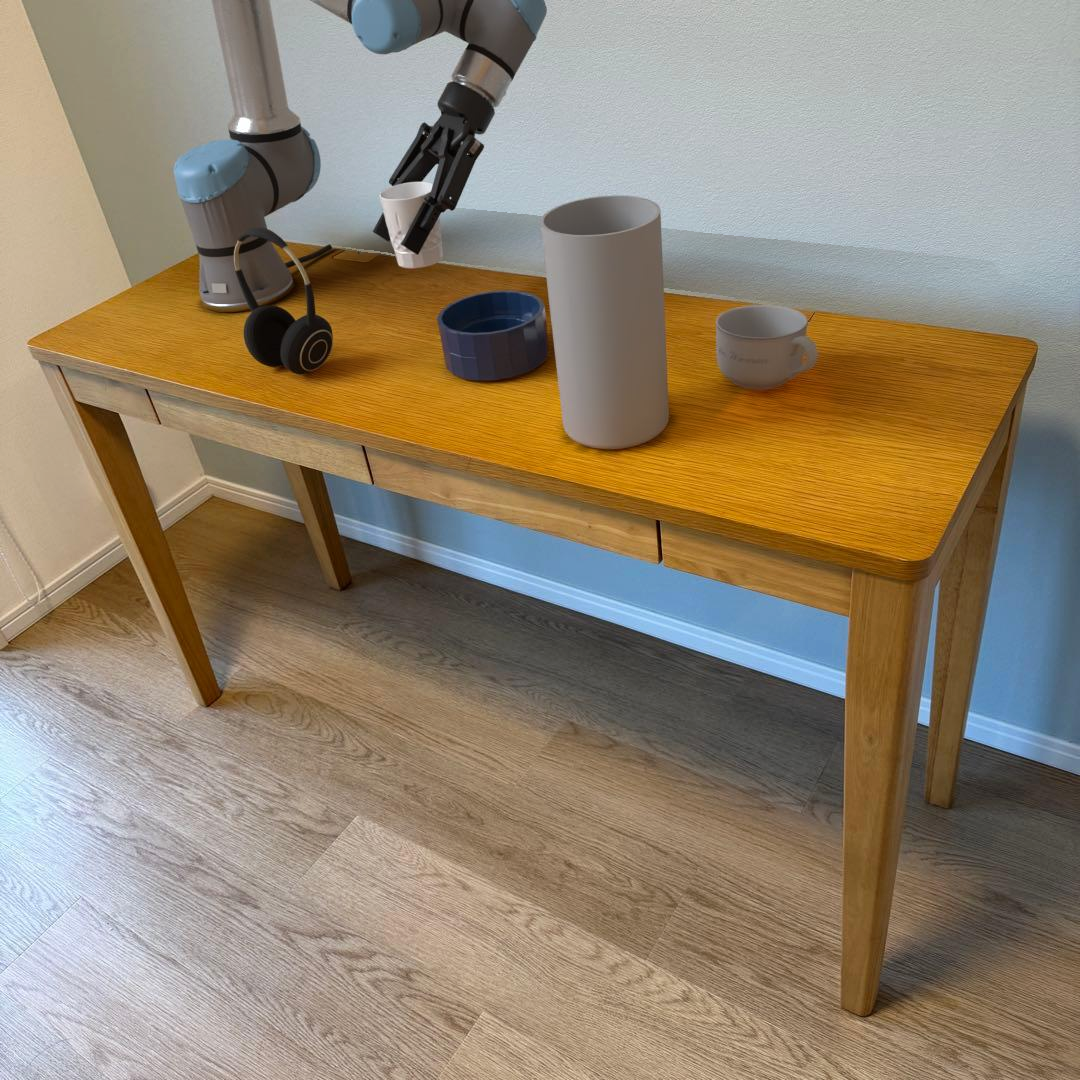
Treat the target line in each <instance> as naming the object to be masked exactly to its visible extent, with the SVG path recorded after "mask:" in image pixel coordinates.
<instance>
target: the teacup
mask: <svg viewBox="0 0 1080 1080" xmlns="http://www.w3.org/2000/svg"><path fill="white" fill-rule="evenodd" d="M808 319H809V318H808V317H807V315H805V314H804V313H802V312H801V311H799V310H797V309H795V308H793V307H789V306H784V305H776V304H752V305H743V306H738V307H733V308H730V309H728V310H726V311H723V312H722V313H721V314H719V315H717V317H716V319H715V327H716V332H715V333H716V334H715V335H716V338H715V345H716V347H715V348H716V349H715V350H716V351H715V352H716V353H715V354H716V362H717V363H716V364H717V366H718V369H719V371H720V373H721V374H722V375H723V376H724V377H725V378H727V379H728V380H729V381H731V383H733V384H734V385H736V386H737V387H739V388H743V389H747V390H754V391H764V390H765V391H767V390H771V389H772V390H773V389H776V388H779V387H781V386H783V385H784V384H786V383H787V382H788V381H790V380H794V379H797V377H798V375H802V374H804V373H806V372H808V371H810V370H812V369H813V368H814V367H815V366H816V364H817V361H818V359H819V358H818V357H819V352H818V347H817V345H816V343H815V342H814V340H813V339H811V338H810V337H809V336H807V329H808V326H809V320H808ZM804 357H805V358H804ZM804 359H805V361H804ZM803 362H804V363H803Z"/></svg>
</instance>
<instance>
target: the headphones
mask: <svg viewBox="0 0 1080 1080" xmlns="http://www.w3.org/2000/svg"><path fill="white" fill-rule="evenodd" d="M250 236H253V237H259V238H264V239H266V240H268V241H270V242H271V243H272V244H273V245H275V246H277V247H279V248H280V249H281V250H284V252H286V254H287V255H288V256H289V257H290V259H292V260H293V261H294V262H295V264H296V265H295V266H296V267H297V268H298V270H299V272H300V274H301V276H302V278H303V282H304V284H303V285H304V291H305V297H306V314H305V315H303V316H301V317H299V318H297V319H295V318H294V316H293V315H292V314H291V313H290V312H289V311H287V310H286V309H284V308H283V307H280V306H278V305H275V304H268V305H265V306H262V307H259V305H258V303H257V302H256V300H255V298H254V296H253V294H252V292H251V290H250V288H249V286H248V284H247V283H246V280H245V277H244V275H243V272H242V270H241V269H240V266H239V260H238V254H239V248H240V245H241V243H242V241H244V240H245V239H246V238H247V237H250ZM298 258H299V257H297V256H296V254H295V253H294V252H293V251H292V250H291V248H290V247H289V246H288V243H286V241H285V240H284V239H283V238H282V237H280V236H279V235H278V234H277V233H275V232H274V231H273V230H271V229H268V228H267V229H266V228H251V229H248V230H246V231H244V232H243V233H241V235H240V236H239V238H238V242H237V244H236V246H235V250H234V265H235V273H236V276H237V278H238V281H239V284H240V287H241V289H242V292H243V294H244V297H245V299H246V301H247V304H248V306H249V308H250V310H249V311H250V313H249V315H248V316H247V317H246V319H245V322H244V326H243V340H244V344H245V346H246V349H247V351H248V352H249V354H250V356H251V357H252V358H253V359H254V360H256V361H257V362H258V363H259V364H260V365H263V366H265V367H270V368H280V367H285V369H287V370H288V371H289V372H291V373H292V374H296V375H300V376H302V375H303V376H304V375H307V374H310V373H313V372H314V371H316V370H318V369H320V367H322V366H323V365H324V364H325V363H326V362H327V360H328V359H329V357H330V355H331V353H332V350H333V344H334V334H333V329H332V325H331V324H330V323H329V322H328V320H327V319H325V318H324V317H323V316H321V315H318V314H317V313H316V312H317V311H316V303H315V296H314V291H313V287H312V283H311V281H310V279H309V276H308V274H307V271H306V269H305V267H304V266H303V263H300V261H299V260H298Z"/></svg>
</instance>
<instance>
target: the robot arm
mask: <svg viewBox="0 0 1080 1080" xmlns="http://www.w3.org/2000/svg"><path fill="white" fill-rule="evenodd" d="M309 1H310V2H312V3H314V4H315V5H317V6H319V7H321V8H323V9H324V10H325V11H326V10H327V12H330V13H331V14H333V15H335V16H336V17H339V18H340V19H342V20H343V21H345V22H347V23H349V24H350V25H351V26H352V28H353V32H354V34H355V36H356V37H357V38H358V40H359V42H360V43H361V44H362V46H363V47H364V48H365V49H366V50H368V51H369V52H372V53H373V54H376V55H389V54H393V53H400V52H402V51H406V50H407V49H409V48H410V47H412V46H415V45H417V44H418V43H419V44H420V43H421V42H423V41H425V40H427V39H431V38H433V37H435V36H437V35H439V34H443V33H447V34H450V35H452V36H453V37H455V38H458V39H459V40H461V41H463V42H465V43H467V45H466V47H465V49H464V50H463V52H462V55H461V57H460V58H459V60H458V63H457V65H456V66H455V68H454V70H453V71H452V74H451V80H452V81H449V82H447V83H446V85H445V87H444V88H443V91H442V92H441V95H440V97H439V98H438V101H437V108H438V110H439V111H440V116H439V118H438V119H437V120H436V122H435V123H433V125H429V124H428V123H427V122H425V121H424V122H422V123H421V124H420V126H419V128H418V131H417V133H416V135H415V137H414V139H413V141H412V142H411V144H410V146H409V147H408V149H407V150H406V152H405V154H404V155H403V157H402V158H401V160H400V161H399V163H398V165H397V166H396V168H395V170H394V171H393V173H392V174H391V176H390V177H389V180H388V184H389V185H390V186H391V187H392V186H395V185H398V184H403V183H409V182H424V180H425V178H426V177H427V176H428V175H429V174H430V172H431V171H432V170H433V169H434V167H435V166H436V165H437V169H436V172H435V174H434V175H435V176H434V178H433V182H432V184H433V186H432V190H431V193H430V197H429V196H428V197H426V198H424V200H425V201H426V202H428V203H429V204H430V205H429V204H427V203H426V202H423V204H422V206H421V207H420V209H419V211H418V213H417V215H416V217H415V219H414V220H413V222H412V224H411V226H410V228H409V230H408V232H407V234H406V236H405V237H404V239H403V241H402V243H401V245H403V246H404V247H406V248H407V249H409V250H410V251H412V252H413V253H415V254H417V255H418V254H419V252H420V250H421V248H422V247H423V245H424V243H425V241H426V239H427V237H428V235H429V233H430V232H431V230H432V229H433V227H434V225H435V223H436V221H437V220H438V218H439V217H440V216H441V214H443V213H445V212H446V211H447V210H449V211H451V212H452V211H454V210H455V209H456V208H457V205H458V203H459V200H460V198H461V196H462V194H463V192H464V189H465V187H466V184H467V182H468V179H469V177H470V175H471V173H472V171H473V168H474V166H475V163H476V161H477V159H478V158H479V156H480V155H481V153H482V152H483V150H484V149H485V144H483V142H481V141H480V140H479V139H477V138H476V135H478V136H479V135H484V134H485V133H486V131H487V129H488V128H489V125H490V124H491V123H492V121H493V118H494V117H495V114H496V111H495V108H498V107H499V106H500V104H501V103H502V100H503V99H504V97H505V96H506V95H507V92H508V91H507V90H508V89H509V87H510V85H511V84H512V82H513V80H514V78H515V77H516V74H517V73H518V71H519V69H520V67H521V65H522V64H523V62H524V60H525V58H526V57H527V54H528V52H529V51H530V49H531V48H532V45H533V44H534V42H535V41H536V40H537V36H538V34H539V31H540V29H541V27H542V25H543V24H544V21H545V18H546V15H547V13H548V8H547V5H546V2H545V0H309ZM211 4H212V9H213V13H214V19H215V23H216V29H217V34H218V37H219V43H220V48H221V54H222V58H223V63H224V67H225V72H226V78H227V82H228V87H229V92H230V96H231V101H232V106H233V111H234V115H233V116H232V117H231V119H230V120H229V122H228V123H227V129H228V133H229V138H227V139H218V140H212V141H209V142H206V143H205V144H200V145H197V146H195V147H193V148H191V149H189V150H188V151H186V152H184V153H183V154H182V155H180V156H179V157H178V159H177V160H176V161H175V163H174V166H173V176H174V179H175V183H176V191H177V194H178V197H179V198H180V201H181V205H182V207H183V210H184V213H185V216H186V219H187V222H188V226H189V229H190V231H191V234H192V238H193V240H194V243H195V246H196V250H197V253H198V257H199V285H198V287H199V289H198V290H199V297H200V300H201V303H202V306H203V307H204V308H206V310H209V311H212V312H217V313H238V312H244V311H245V312H246V311H251V310H250V308H249V306H248V304H247V301H246V299H245V297H244V294H243V292H242V289H241V287H240V284H239V281H238V278H237V276H236V273H235V265H234V250H235V246H236V244H237V242H238V238H239V236H240V235H241V233H243V232H244V231H246V230H248V229H251V228H266V229H268V226H267V222H266V219H265V218H266V217H267V216H269V215H271V214H273V213H275V212H277V211H278V210H280V209H282V208H284V207H286V206H288V205H290V204H291V203H295V202H297V201H299V200H300V199H302V198H303V197H304V196H305V195H307V194H308V193H309V192H311V191H312V189H313V188H314V187H315V185H316V184H317V182H318V180H319V177H320V175H321V167H322V163H321V162H322V161H321V153H320V150H319V147H318V145H317V142H316V141H315V139H314V138H311V134H310V133H309V131H308V130H307V129H306V128H304V127H303V126H302V124H301V118H300V116H298V115H297V114H296V113H295V112H293V111H292V110H291V109H290V108H289V104H288V97H287V92H286V91H287V90H286V86H285V80H284V75H283V69H282V63H281V58H280V51H279V47H278V46H279V45H278V40H277V34H276V28H275V23H274V17H273V11H272V5H271V0H211ZM372 233H374V234H375V235H377V236H379V237H380V238H382V239H383V240H385V241H386V242H388V243H391V239H390V236H389V232H388V228H387V225H386V221H385V216H384V212H383V211H382V213H381V215H380V216H379V219H378V221H377V223H376V224H375V226H374V228H373V229H372ZM332 249H333V246H332V244H327V245H325V246H323V247H322V248H320V249H318V250H316V251H314V252H312V253H309V254H306V255H304V256H301V257H297V258H298V260H299V261H300V263H301V264H303V263H307V262H309V261H311V260H315V259H316V258H318V257H321V256H322V255H324V254H326V253H327V252H329V251H331V250H332ZM238 260H239V266H240V269H241V270H242V272H243V275H244V277H245V280H246V283H247V284H248V286H249V288H250V290H251V292H252V294H253V296H254V298H255V300H256V302H257V303H258V305H259V307H262V306H266V305H272V304H273V303H275V302H278V301H280V300H282V299H283V298H285V297H286V296H287V295H289V294H290V293H291V292H292V291H293V289H294V288H295V284H294V280H293V276H292V274H291V272H290V270H289V269H290V268H293V267H295V266H297V265H296V264H295V262H294V261H293V259H292V260H290V261H287V262H284V260H283V259H282V257H281V255H280V253H279V251H277V249H276V247H275V245H274V243H272V242H270V241H268V240H266V239H264V238H259V237H253V236H250V237H247V238H246V239H245V240H244V241H242V243H241V245H240V248H239V254H238Z"/></svg>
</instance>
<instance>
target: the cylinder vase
mask: <svg viewBox="0 0 1080 1080" xmlns="http://www.w3.org/2000/svg"><path fill="white" fill-rule="evenodd" d="M661 214H662V211H661V207H660V205H659V204H658V203H656V202H655V201H653V200H651V199H648V198H644V197H640V196H635V195H634V196H633V195H621V194H620V195H619V194H617V195H599V196H591V197H585V198H579V199H575V200H572V201H568V202H565V203H562V204H559V205H556V206H554V207H552V208H551V209H549V210H547V211H546V212H545V213H544V214H543V215H541V218H540V221H539V222H540V232H541V233H540V234H541V242H542V249H543V258H544V268H545V277H546V287H547V295H548V303H549V314H550V322H551V330H552V331H551V332H552V339H553V348H554V356H555V357H554V358H555V365H556V375H557V385H558V392H559V401H560V402H559V403H560V411H561V419H562V427H563V429H564V432H565V433H566V435H567V436H568V437H569V438H570V439H571V440H573V441H574V442H576V443H578V444H580V445H582V446H584V447H589V448H592V449H599V450H623V449H627V448H632V447H636V446H639V445H643V444H645V443H647V442H650V441H651V440H653V439H655V438H656V437H658V436H659V435H660V434H661V433H663V431H664V430H665V428H666V426H667V425H668V423H669V418H670V411H669V410H670V408H669V383H668V360H667V359H668V358H667V357H668V355H667V336H666V335H667V334H666V333H667V332H666V331H667V330H666V313H665V311H666V310H665V309H666V308H665V286H664V285H665V283H664V260H663V238H662V237H663V236H662V234H663V233H662V215H661Z"/></svg>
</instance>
